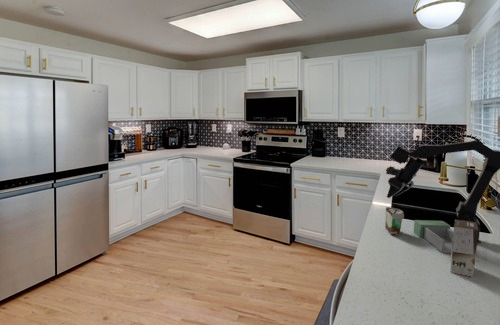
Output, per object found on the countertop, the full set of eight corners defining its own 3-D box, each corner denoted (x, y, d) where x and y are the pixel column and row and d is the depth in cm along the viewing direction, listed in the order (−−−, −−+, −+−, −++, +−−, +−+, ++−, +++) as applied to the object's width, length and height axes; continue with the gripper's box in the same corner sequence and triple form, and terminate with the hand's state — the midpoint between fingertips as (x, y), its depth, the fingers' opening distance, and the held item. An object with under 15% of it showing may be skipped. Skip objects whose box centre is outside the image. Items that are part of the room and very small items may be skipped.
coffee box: (473, 278, 95) (479, 230, 93) (449, 272, 98) (454, 226, 96) (472, 266, 102) (477, 222, 100) (450, 261, 106) (454, 218, 104)
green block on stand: (441, 233, 133) (442, 220, 132) (471, 254, 112) (473, 239, 111) (413, 232, 134) (414, 220, 133) (438, 252, 113) (439, 237, 112)
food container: (406, 237, 128) (408, 215, 127) (391, 236, 129) (392, 214, 128) (398, 227, 140) (399, 207, 139) (384, 226, 141) (385, 206, 140)
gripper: (401, 160, 146) (383, 186, 152) (388, 159, 133) (369, 187, 138) (422, 173, 140) (403, 199, 145) (411, 173, 126) (390, 202, 132)
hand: (391, 196), depth 140 cm, fingers open, 9 cm apart
